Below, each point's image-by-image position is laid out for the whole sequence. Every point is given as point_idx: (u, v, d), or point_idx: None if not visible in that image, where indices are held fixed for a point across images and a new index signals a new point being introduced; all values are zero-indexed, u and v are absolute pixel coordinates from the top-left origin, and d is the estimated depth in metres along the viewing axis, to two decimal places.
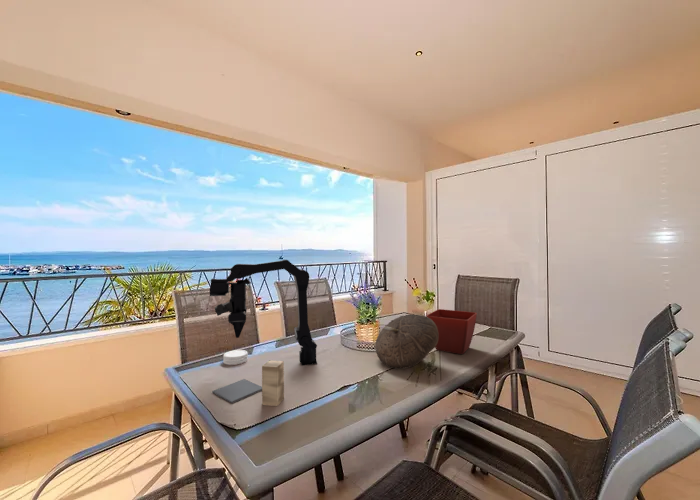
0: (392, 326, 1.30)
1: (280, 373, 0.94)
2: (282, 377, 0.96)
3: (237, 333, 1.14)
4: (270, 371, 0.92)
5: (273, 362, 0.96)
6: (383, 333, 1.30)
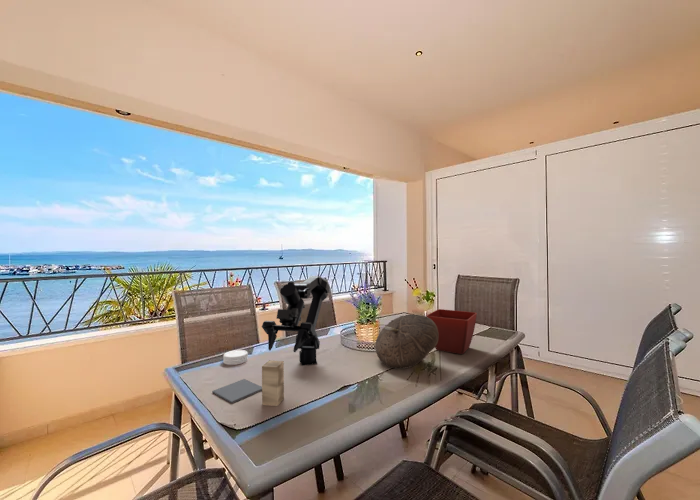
0: (392, 326, 1.30)
1: (280, 373, 0.94)
2: (282, 377, 0.96)
3: (297, 346, 1.03)
4: (270, 371, 0.92)
5: (272, 362, 0.96)
6: (383, 333, 1.30)
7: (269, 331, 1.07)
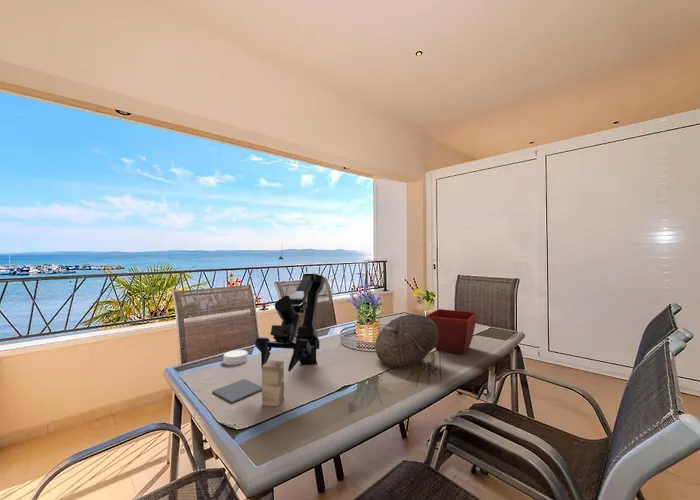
0: (392, 326, 1.30)
1: (280, 373, 0.94)
2: (282, 377, 0.96)
3: (292, 365, 0.97)
4: (270, 371, 0.92)
5: (273, 362, 0.96)
6: (383, 333, 1.30)
7: (262, 348, 1.00)
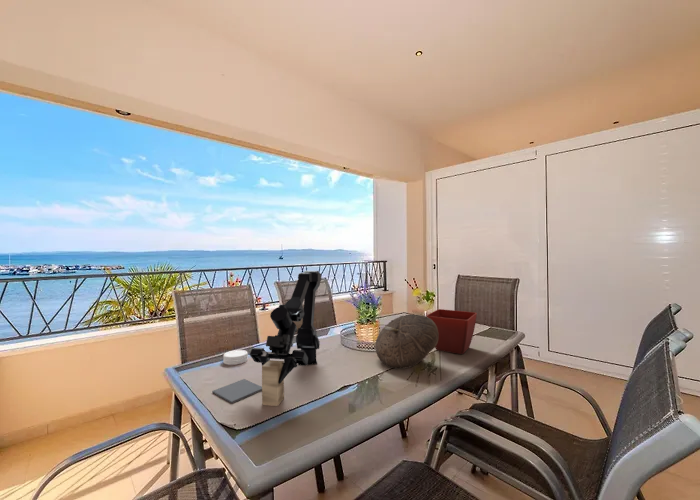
0: (392, 326, 1.30)
1: (280, 373, 0.94)
2: None
3: (283, 377, 0.94)
4: (270, 371, 0.92)
5: (273, 362, 0.96)
6: (383, 333, 1.30)
7: (263, 360, 0.97)
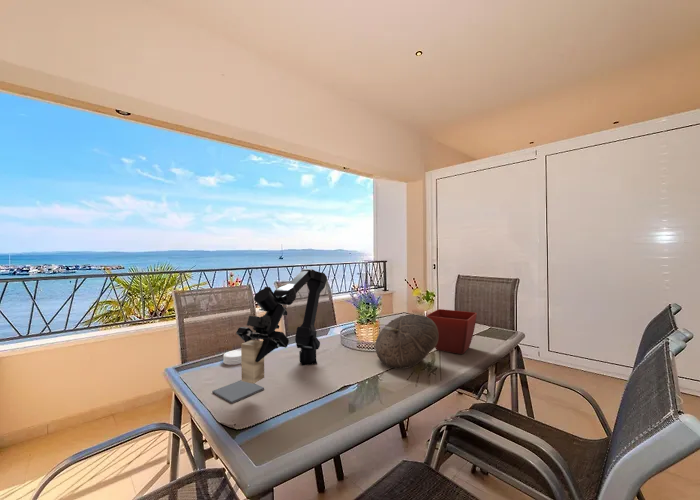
0: (392, 326, 1.30)
1: (258, 352, 0.97)
2: None
3: (260, 356, 0.96)
4: (248, 349, 0.95)
5: (253, 341, 0.99)
6: (383, 333, 1.30)
7: (246, 339, 1.01)
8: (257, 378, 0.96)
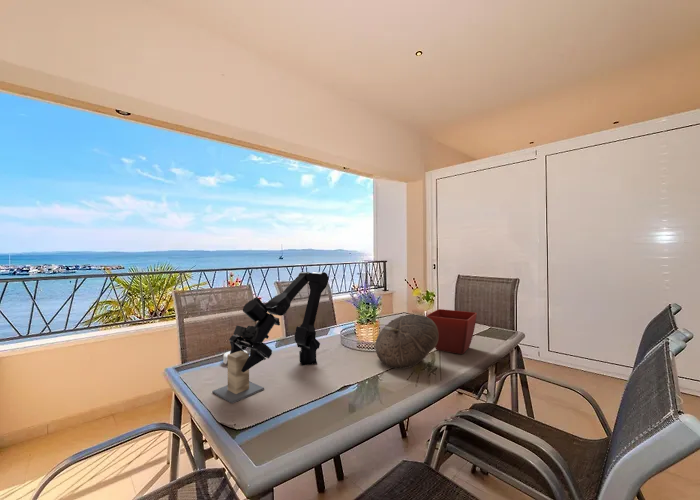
0: (392, 326, 1.30)
1: (242, 364, 1.01)
2: None
3: (247, 367, 0.99)
4: (232, 360, 1.00)
5: (239, 353, 1.03)
6: (383, 333, 1.30)
7: (232, 346, 1.07)
8: (240, 389, 1.00)
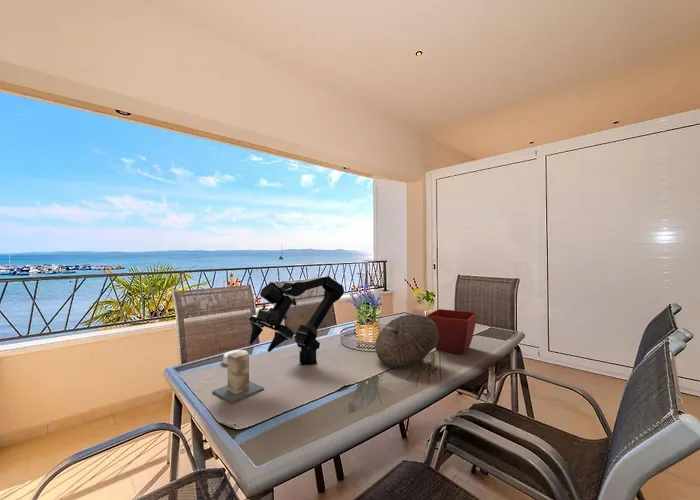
0: (392, 326, 1.30)
1: (242, 364, 1.01)
2: (246, 368, 1.02)
3: (272, 347, 1.09)
4: (232, 360, 1.00)
5: (239, 353, 1.03)
6: (383, 333, 1.30)
7: (253, 326, 1.15)
8: (240, 389, 1.00)
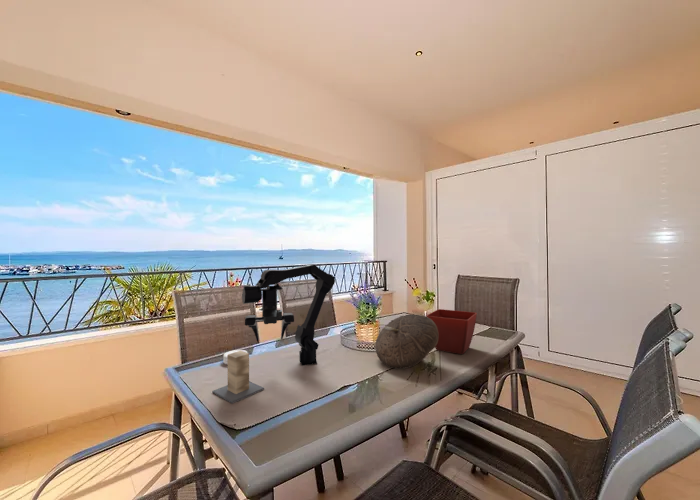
0: (392, 326, 1.30)
1: (242, 364, 1.01)
2: (246, 368, 1.02)
3: None
4: (232, 360, 1.00)
5: (239, 353, 1.03)
6: (383, 333, 1.30)
7: (254, 328, 1.16)
8: (240, 389, 1.00)
